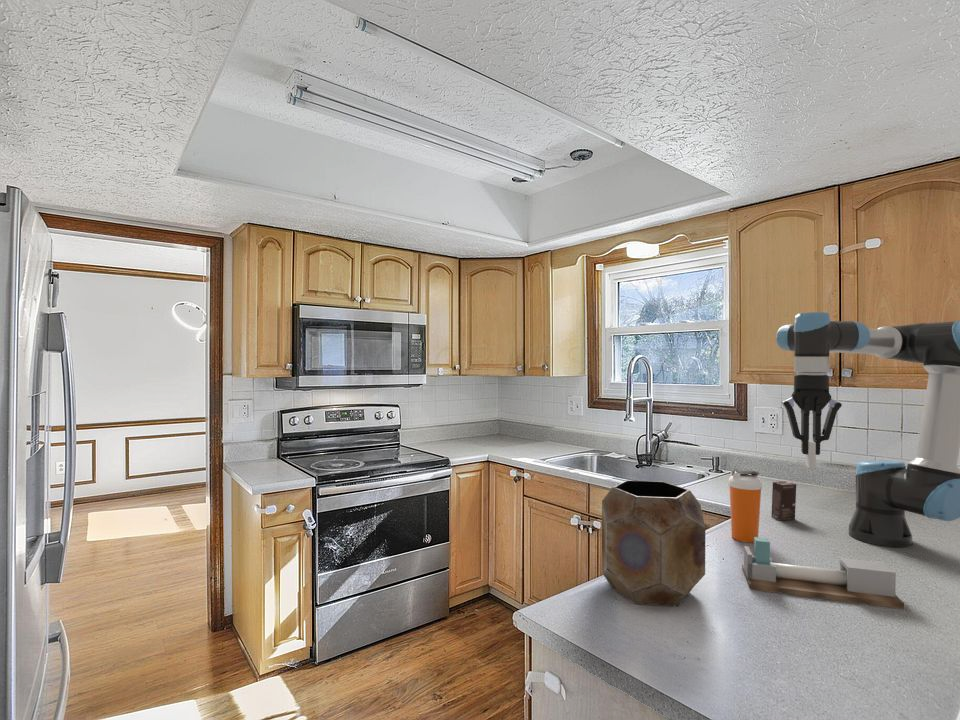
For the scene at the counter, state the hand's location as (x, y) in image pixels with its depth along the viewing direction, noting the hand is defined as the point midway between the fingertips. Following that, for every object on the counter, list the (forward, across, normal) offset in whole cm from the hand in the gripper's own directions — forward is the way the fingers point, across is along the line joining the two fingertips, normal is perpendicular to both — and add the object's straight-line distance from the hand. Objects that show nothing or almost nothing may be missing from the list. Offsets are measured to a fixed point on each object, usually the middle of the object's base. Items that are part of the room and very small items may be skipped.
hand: (810, 467), depth 133 cm
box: (+27, -3, -46) cm, 53 cm away
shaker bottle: (+27, +12, -21) cm, 36 cm away
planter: (+27, +38, +24) cm, 52 cm away
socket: (+25, +13, +10) cm, 30 cm away
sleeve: (+25, -9, +10) cm, 29 cm away
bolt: (+25, +4, +10) cm, 27 cm away
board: (+26, +1, +10) cm, 28 cm away
